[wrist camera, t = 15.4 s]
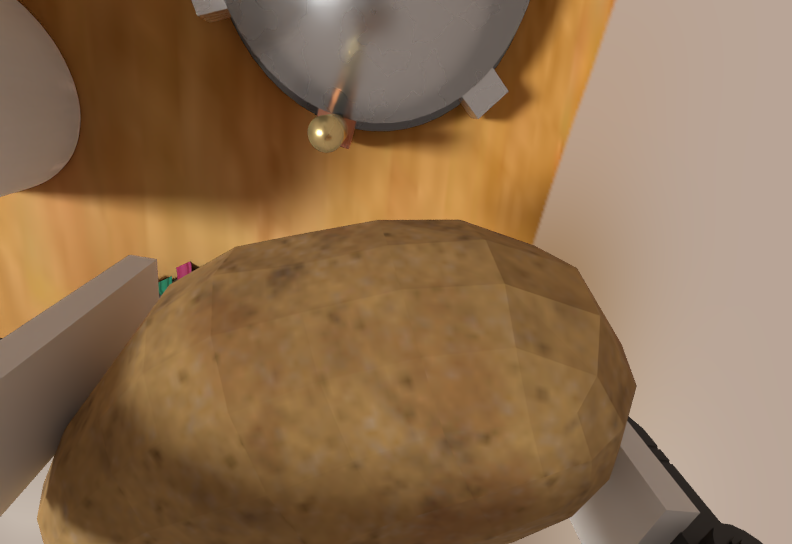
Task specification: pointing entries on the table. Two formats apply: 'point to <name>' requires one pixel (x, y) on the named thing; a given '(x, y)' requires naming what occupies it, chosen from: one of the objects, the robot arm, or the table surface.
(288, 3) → the sprocket
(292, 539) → the potato
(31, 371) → the robot arm
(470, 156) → the table surface
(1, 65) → the utensil holder
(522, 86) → the table surface
